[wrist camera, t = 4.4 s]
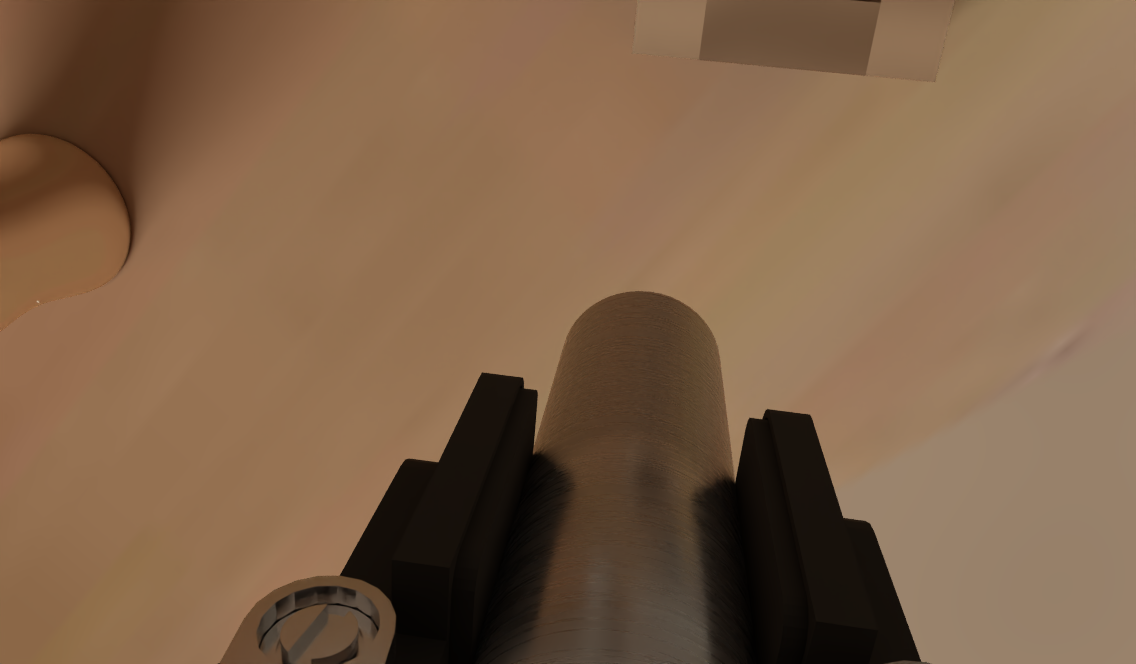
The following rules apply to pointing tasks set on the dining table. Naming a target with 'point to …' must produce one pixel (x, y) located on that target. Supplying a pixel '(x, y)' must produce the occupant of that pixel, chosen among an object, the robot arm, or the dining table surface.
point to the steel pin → (627, 504)
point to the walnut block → (801, 34)
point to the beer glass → (55, 224)
